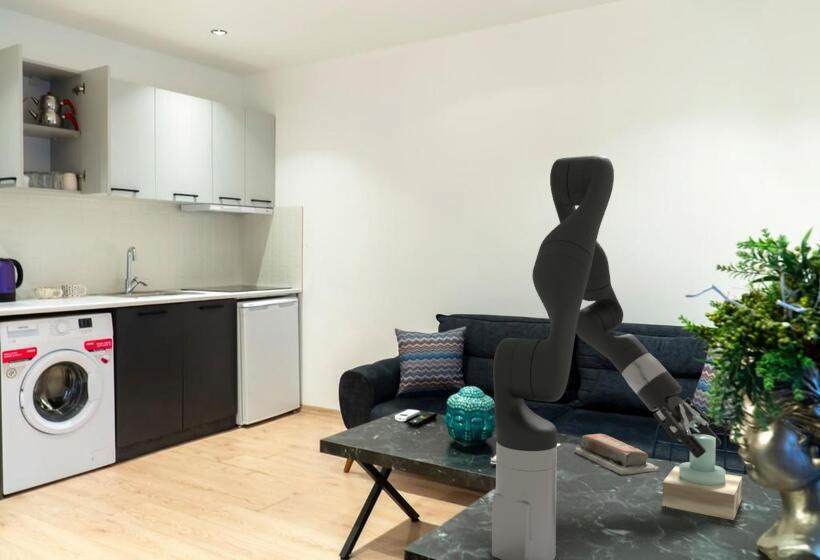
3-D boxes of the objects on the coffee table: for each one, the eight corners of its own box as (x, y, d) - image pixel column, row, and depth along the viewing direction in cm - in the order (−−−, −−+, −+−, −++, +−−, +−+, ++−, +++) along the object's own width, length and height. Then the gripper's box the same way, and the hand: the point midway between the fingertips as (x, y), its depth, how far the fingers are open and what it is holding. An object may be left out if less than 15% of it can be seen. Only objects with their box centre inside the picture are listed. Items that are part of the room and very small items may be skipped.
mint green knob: (717, 489, 118) (718, 445, 118) (672, 478, 124) (673, 436, 123) (731, 478, 124) (732, 436, 124) (688, 469, 129) (688, 429, 129)
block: (733, 523, 115) (734, 495, 115) (662, 508, 122) (662, 482, 122) (741, 502, 125) (742, 476, 125) (675, 490, 132) (675, 465, 132)
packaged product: (573, 433, 156) (608, 430, 160) (573, 453, 156) (608, 450, 160) (622, 454, 139) (660, 450, 143) (621, 477, 139) (659, 472, 143)
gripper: (649, 374, 123) (712, 446, 115) (678, 366, 133) (737, 432, 126) (622, 398, 127) (681, 470, 119) (652, 388, 137) (708, 453, 130)
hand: (709, 450), depth 123 cm, fingers open, 8 cm apart
